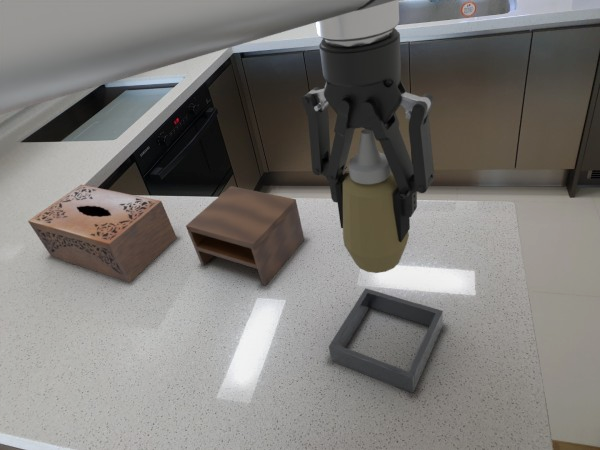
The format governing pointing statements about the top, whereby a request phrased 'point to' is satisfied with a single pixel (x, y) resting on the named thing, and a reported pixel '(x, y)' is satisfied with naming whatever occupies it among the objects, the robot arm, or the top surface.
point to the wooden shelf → (248, 230)
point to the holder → (374, 366)
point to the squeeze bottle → (371, 209)
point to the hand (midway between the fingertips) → (374, 228)
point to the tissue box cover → (105, 231)
